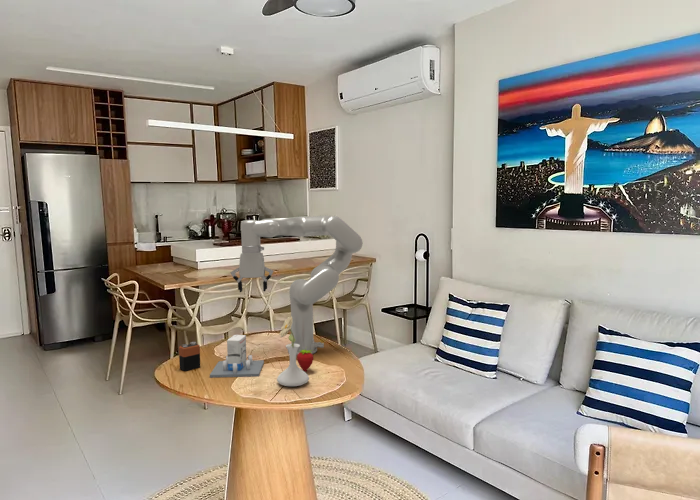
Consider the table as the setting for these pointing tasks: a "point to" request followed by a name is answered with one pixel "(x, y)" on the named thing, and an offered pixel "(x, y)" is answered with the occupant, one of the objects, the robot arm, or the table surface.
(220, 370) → the pin tray
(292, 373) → the flower in vase
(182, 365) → the battery
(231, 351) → the ink box
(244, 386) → the table surface
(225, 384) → the table surface
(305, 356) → the strawberry
